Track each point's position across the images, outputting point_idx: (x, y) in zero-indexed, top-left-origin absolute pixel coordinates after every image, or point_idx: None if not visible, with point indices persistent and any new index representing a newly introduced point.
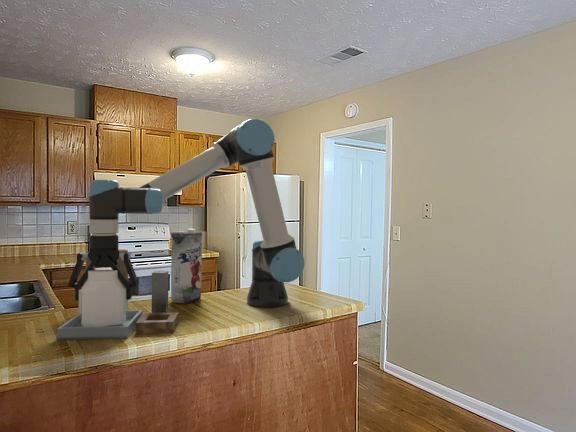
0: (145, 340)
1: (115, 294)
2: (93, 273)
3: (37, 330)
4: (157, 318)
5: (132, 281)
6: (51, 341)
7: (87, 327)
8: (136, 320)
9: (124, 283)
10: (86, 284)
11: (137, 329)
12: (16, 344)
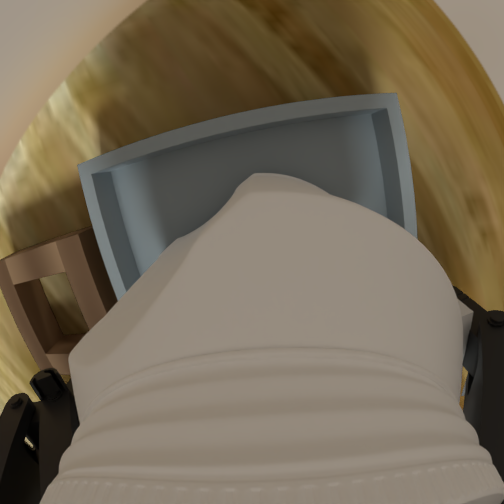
0: (43, 157)
1: (114, 310)
2: (398, 480)
3: (488, 219)
4: None
5: (12, 418)
6: (385, 88)
7: (259, 115)
8: None
9: (61, 418)
10: (434, 309)
11: (88, 228)
12: (464, 70)
